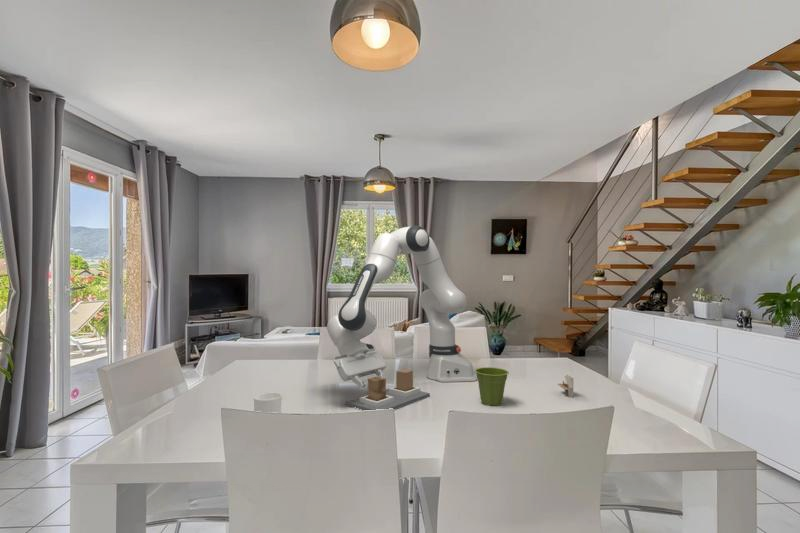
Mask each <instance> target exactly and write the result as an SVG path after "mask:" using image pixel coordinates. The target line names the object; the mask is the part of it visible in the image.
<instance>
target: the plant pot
mask: <svg viewBox="0 0 800 533" xmlns="http://www.w3.org/2000/svg"><path fill="white" fill-rule="evenodd" d="M474 372H475V373H476V374H477V379H478V380H477V383H478V390H479V395H480V397H479V398H480V401H481V403H482V404H483V405H486V406H500V405H502V404H503V399H504V392H505V387H506V381H507V378H508V375H509V373H510V372H509V371H508V370H507V369H505V368H500V367H489V366H487V367H477V368H476V369H475V368H474Z"/></svg>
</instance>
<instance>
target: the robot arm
mask: <svg viewBox="0 0 800 533" xmlns="http://www.w3.org/2000/svg"><path fill="white" fill-rule="evenodd" d="M409 254H412V256H413V259H414V262H415V264H416V268H417V270H418V273H419V276H420V280H421V281H422V283H423V284H425V285H426V286H427V288H428V289H425V290H424V291H422V292H421V293H420V296H419V305H420V306H421V308H422V309H423V310H424V312H425V314H426V318H427V322H428V326H429V343H430V344H429V345H428V356H429V361H428V362H429V363H428V364H429V365H428V370H427V373H426V377H427V378H428V379H430V380H434V381H438V382H441V383H449V382H450V383H451V382H453V383H454V382H476V381H478V379H477V374H476V372H475V371H474V368H473V365H472V362H471V361H470V360H469V359H468V358H466V357H465V356H464V355H462V354H461V352H462V348H461V347H460V346H459V345H457V344H456V327H455V325H454V324H453V323H452V321H451V319H450V315H457V314H461V313H463V312H464V310H465V309H466V307H467V302H468V301H467V296H466V295H465V293H464V292H462V291H461V290H460V289H459V288H457V286H456V285H455V283H454V282H453V281H452V279H451V278H450V277H449V274H448V273H447V271H446V269H445V265H444V264H443V263H444V262H443V260H442V257H441V254H440V252H439V249H438V247H437V245H436V244H435V242H434V240H433V238H432V237H430V235H429V233H428V231H427V230H426V228H424V227H423V226H420V225H411V226H404V227H401V228H398V229H395V230H390V231H389V232H383V233H381V234H379V235H378V236H377V238H376V239H375V241H374V242H373V245H372V247H371V249H370V251H369V254H368V257H367V260H366V262H365V264H364V266H363V267H361V268H362V269H361V270H360V272H359V274H358V275H357V279H356V281H355V283H354V285H353V287H352V289H351V291H350V294H349V296H348V298H347V299H346V300H345V301H344V303H343V304H342V306H341V307H340V308H339V311H338V314H335V315H333V316H332V317H331V318H330V319H329V321H328V322H327V324H326V330H327V333H328V336H329V337H330V340H331V342H332V344H333V345H334V346H336V348H337V350H338V353H339V356H336V357H334V359H333V364H334V365H335V367H336V371H337V374H338V376H339V377H340V379H341V380H342V381H343V382H347V381H352V383H354V384H355V385H356V386H358V388H359V389H364V388H365V387H366V383H365V381H362V380H361V379H359V378H363V377H366V376H367V377H368V376H370V375H376V376H377V377H381V378H384V377H383V371H384V370H385V369H386V367H387V363H386V361H385V359H384V358H383V356H382V354H381V353H380V352H379V351H378V350H376V349H377V348H376V346H375V345H374V344H372V343H366V342H361V340H362V339H364V338H366V337H368V336H369V335H371V334H372V333H373V332H374V331H375V329H376V327H377V318H376V316H375V315H374V314H373V313H371V312H370V311H369V310H368V309H367V308H366V302H367V300H368V297H369V296H370V292H371V291H372V287H373V286H374V285H375V284H376V283H377V282H383V281H386V280H389V279H390V278H391V277H392V276H391V275H392V274H393V272H394V271H395V270H394V269H395V266H396V263H397V260H398V256H399V255H409Z"/></svg>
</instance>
